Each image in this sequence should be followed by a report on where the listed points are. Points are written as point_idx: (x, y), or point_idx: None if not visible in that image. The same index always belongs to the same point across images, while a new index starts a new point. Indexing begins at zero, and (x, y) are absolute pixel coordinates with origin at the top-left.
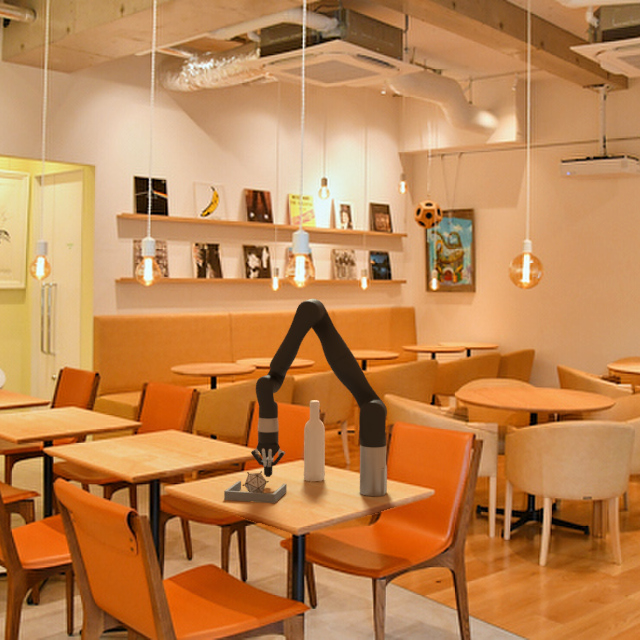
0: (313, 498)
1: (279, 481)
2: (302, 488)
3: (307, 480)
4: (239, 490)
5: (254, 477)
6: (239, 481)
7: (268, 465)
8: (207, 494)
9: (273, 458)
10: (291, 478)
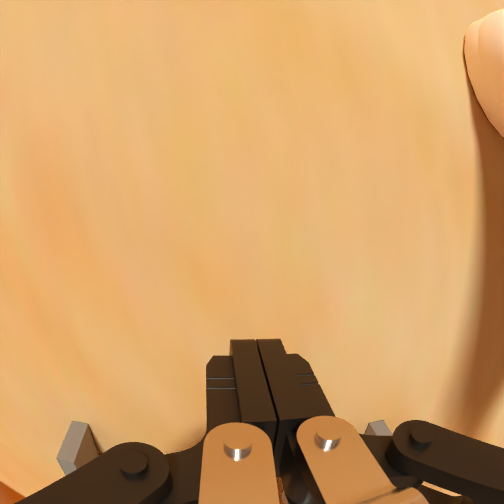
0: (466, 435)
1: (312, 130)
2: (468, 314)
3: (493, 124)
4: (94, 443)
5: None
6: (70, 468)
7: (290, 497)
8: (20, 476)
9: (415, 492)
10: (384, 26)
